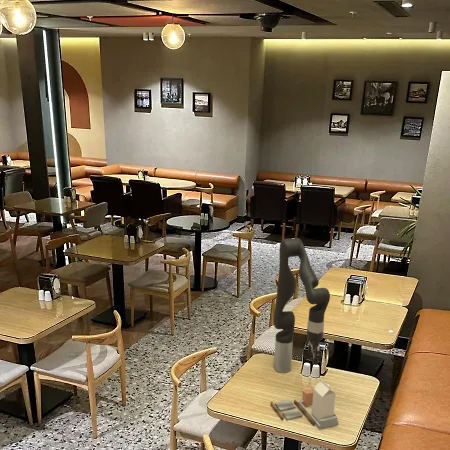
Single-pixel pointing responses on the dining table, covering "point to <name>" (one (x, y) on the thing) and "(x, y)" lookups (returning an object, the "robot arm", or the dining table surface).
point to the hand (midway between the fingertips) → (312, 359)
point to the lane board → (292, 413)
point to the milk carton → (323, 401)
